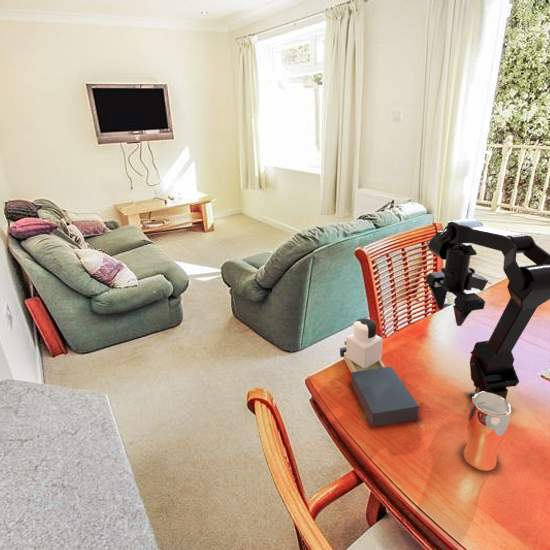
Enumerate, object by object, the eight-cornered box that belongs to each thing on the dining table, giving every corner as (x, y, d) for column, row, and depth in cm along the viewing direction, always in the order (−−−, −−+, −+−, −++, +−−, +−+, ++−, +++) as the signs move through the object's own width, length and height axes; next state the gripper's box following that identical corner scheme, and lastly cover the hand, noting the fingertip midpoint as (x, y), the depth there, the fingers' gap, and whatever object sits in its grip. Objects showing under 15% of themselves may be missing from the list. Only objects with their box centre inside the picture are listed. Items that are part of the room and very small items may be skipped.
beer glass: (453, 451, 80) (463, 397, 74) (478, 440, 82) (490, 386, 76) (480, 478, 74) (493, 421, 68) (506, 465, 76) (521, 409, 70)
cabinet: (351, 384, 102) (351, 372, 100) (390, 378, 103) (391, 366, 101) (372, 427, 88) (372, 413, 86) (417, 419, 89) (418, 406, 87)
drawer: (336, 347, 116) (336, 340, 115) (367, 343, 117) (367, 336, 116) (355, 386, 100) (355, 378, 99) (391, 381, 101) (392, 373, 100)
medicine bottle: (363, 348, 111) (364, 312, 106) (382, 359, 105) (384, 322, 100) (345, 357, 107) (346, 321, 102) (364, 369, 102) (366, 332, 97)
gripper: (509, 276, 91) (498, 331, 98) (464, 251, 108) (456, 298, 115) (467, 282, 90) (458, 336, 96) (427, 255, 107) (422, 303, 113)
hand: (449, 317), depth 105 cm, fingers open, 9 cm apart
